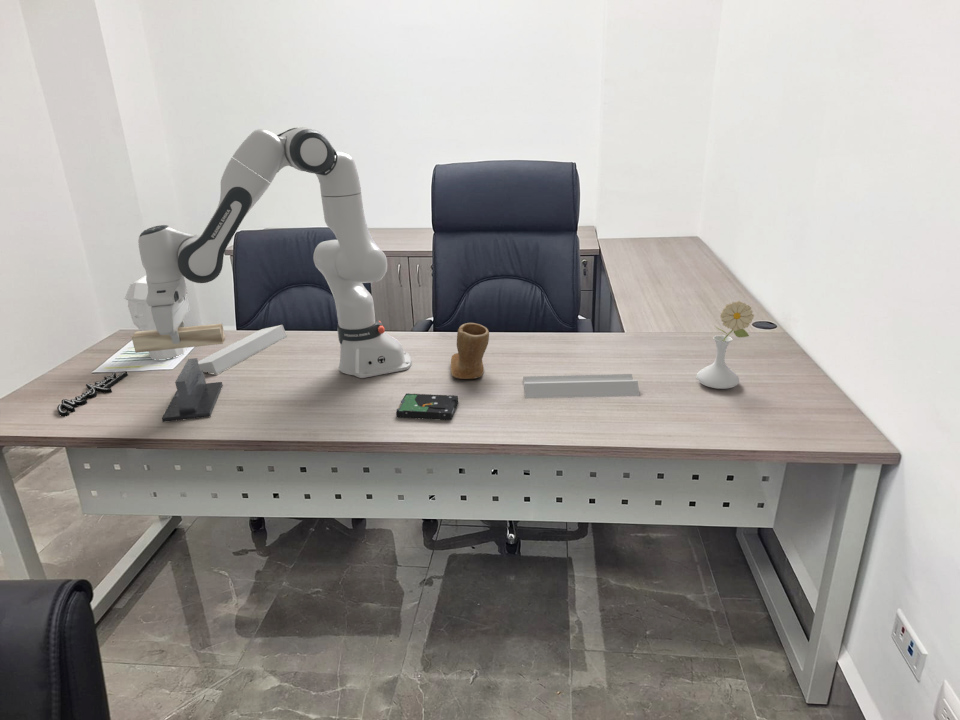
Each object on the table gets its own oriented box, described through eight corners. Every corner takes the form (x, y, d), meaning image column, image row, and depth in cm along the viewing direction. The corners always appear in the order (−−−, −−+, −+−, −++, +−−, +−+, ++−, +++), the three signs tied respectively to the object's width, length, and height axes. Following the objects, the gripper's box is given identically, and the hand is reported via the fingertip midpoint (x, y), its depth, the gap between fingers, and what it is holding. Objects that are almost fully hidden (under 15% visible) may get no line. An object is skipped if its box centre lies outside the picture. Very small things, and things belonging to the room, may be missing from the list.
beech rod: (139, 347, 170) (135, 331, 168) (225, 338, 174) (222, 323, 172) (135, 352, 167) (131, 336, 165) (222, 343, 170) (219, 328, 169)
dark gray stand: (222, 385, 187) (215, 353, 183) (210, 416, 169) (202, 382, 165) (179, 390, 185) (172, 358, 181) (162, 422, 167) (153, 387, 163)
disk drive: (458, 404, 173) (406, 401, 175) (458, 395, 172) (405, 392, 174) (451, 422, 163) (396, 419, 165) (451, 413, 162) (395, 410, 164)
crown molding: (630, 380, 183) (631, 368, 182) (639, 398, 172) (640, 386, 171) (523, 382, 184) (523, 370, 183) (525, 400, 173) (525, 389, 172)
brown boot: (490, 381, 184) (489, 333, 178) (449, 382, 184) (447, 334, 178) (489, 360, 198) (488, 315, 192) (451, 362, 198) (449, 316, 192)
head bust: (125, 366, 203) (102, 282, 192) (160, 344, 220) (141, 266, 209) (170, 368, 201) (149, 283, 190) (202, 345, 218) (184, 266, 207)
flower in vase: (688, 385, 177) (697, 300, 168) (706, 372, 185) (716, 290, 175) (734, 398, 169) (747, 309, 159) (751, 384, 177) (764, 298, 167)
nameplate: (77, 413, 171) (42, 413, 172) (79, 418, 172) (44, 418, 172) (134, 371, 196) (103, 371, 197) (135, 375, 197) (105, 375, 198)
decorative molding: (195, 379, 199) (217, 375, 194) (189, 365, 198) (211, 361, 193) (266, 341, 228) (287, 337, 223) (261, 329, 226) (282, 324, 222)
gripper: (164, 279, 173) (175, 327, 178) (144, 302, 154) (157, 354, 160) (189, 278, 174) (199, 325, 179) (171, 299, 156) (183, 351, 161)
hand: (179, 339), depth 170 cm, fingers closed on beech rod, 4 cm apart
